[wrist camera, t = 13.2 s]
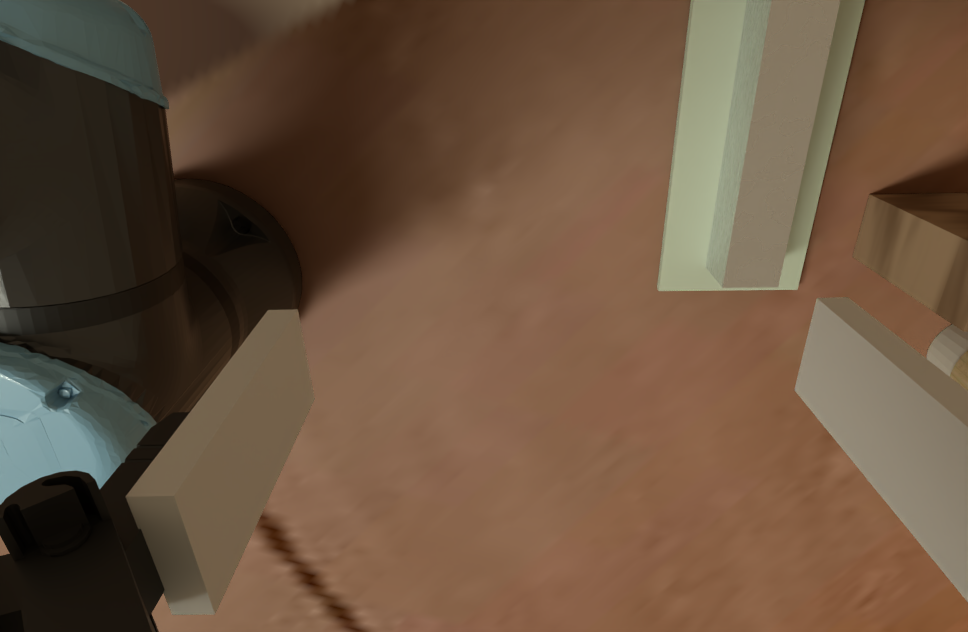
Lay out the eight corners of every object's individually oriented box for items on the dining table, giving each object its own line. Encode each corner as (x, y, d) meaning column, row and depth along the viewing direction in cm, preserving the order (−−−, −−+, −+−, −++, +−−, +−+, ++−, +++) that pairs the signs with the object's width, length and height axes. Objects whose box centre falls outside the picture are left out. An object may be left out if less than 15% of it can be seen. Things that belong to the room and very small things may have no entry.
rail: (756, 266, 47) (778, 287, 43) (705, 267, 47) (722, 288, 43) (829, -102, 36) (865, -116, 32) (762, -100, 36) (791, -114, 33)
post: (852, 256, 47) (963, 331, 36) (869, 194, 45) (993, 253, 33) (943, 255, 47) (1083, 330, 35) (965, 192, 44) (1122, 251, 33)
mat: (657, 288, 48) (658, 291, 48) (706, -137, 36) (710, -139, 35) (794, 286, 48) (797, 289, 47) (892, -143, 36) (898, -145, 35)
